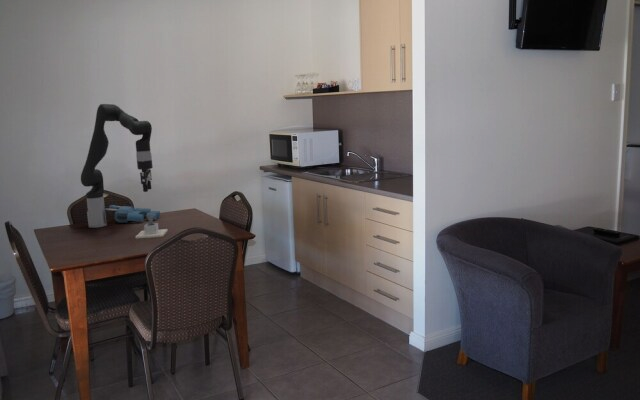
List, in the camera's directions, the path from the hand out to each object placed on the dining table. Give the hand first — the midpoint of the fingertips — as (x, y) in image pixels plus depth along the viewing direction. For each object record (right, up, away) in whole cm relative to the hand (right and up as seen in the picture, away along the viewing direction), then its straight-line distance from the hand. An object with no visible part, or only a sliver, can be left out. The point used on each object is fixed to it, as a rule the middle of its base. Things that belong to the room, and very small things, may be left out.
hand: (147, 190), depth 297 cm
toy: (-23, -18, +47) cm, 55 cm away
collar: (+1, -22, +4) cm, 23 cm away
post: (+1, -23, +4) cm, 24 cm away
